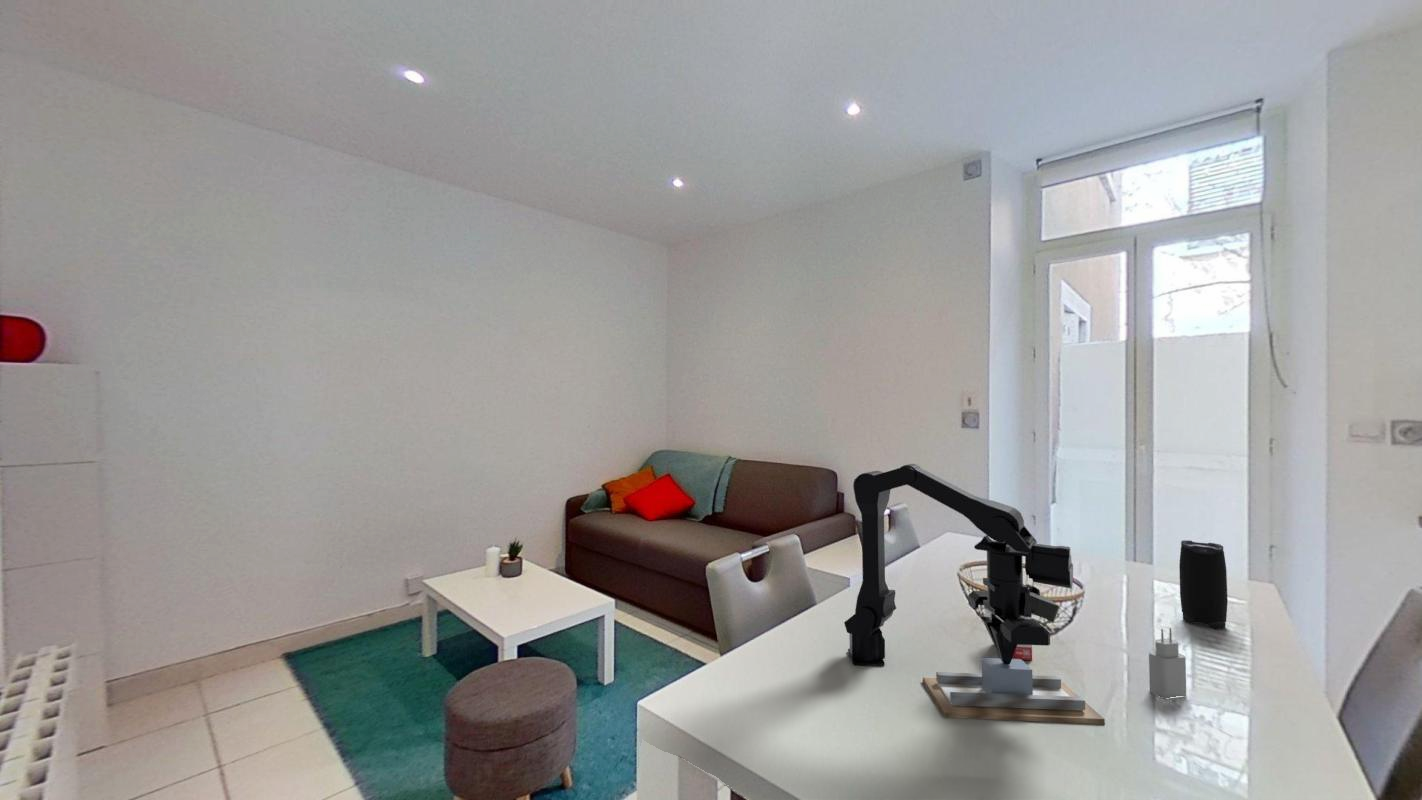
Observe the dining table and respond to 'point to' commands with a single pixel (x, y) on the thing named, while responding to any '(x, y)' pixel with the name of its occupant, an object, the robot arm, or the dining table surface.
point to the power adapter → (1167, 669)
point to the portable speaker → (1203, 584)
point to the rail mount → (1009, 700)
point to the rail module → (1006, 677)
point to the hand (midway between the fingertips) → (1006, 663)
